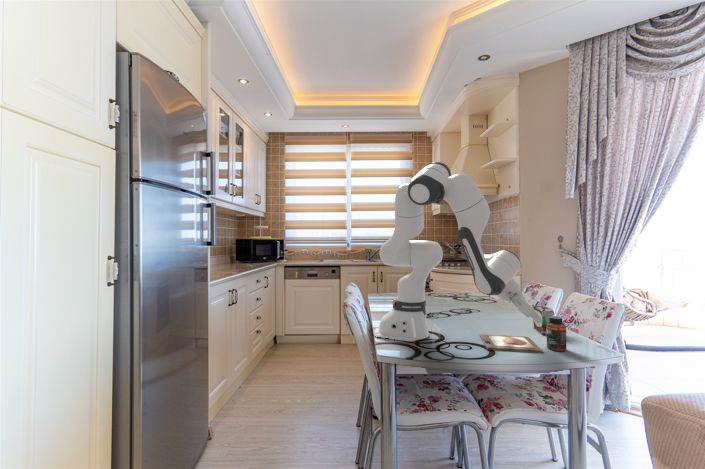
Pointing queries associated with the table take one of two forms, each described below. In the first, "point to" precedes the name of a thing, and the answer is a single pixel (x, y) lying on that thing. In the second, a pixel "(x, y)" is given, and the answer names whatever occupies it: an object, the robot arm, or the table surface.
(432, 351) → the table surface
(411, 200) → the robot arm
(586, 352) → the table surface
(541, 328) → the food container
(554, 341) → the supplement bottle
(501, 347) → the clipboard
